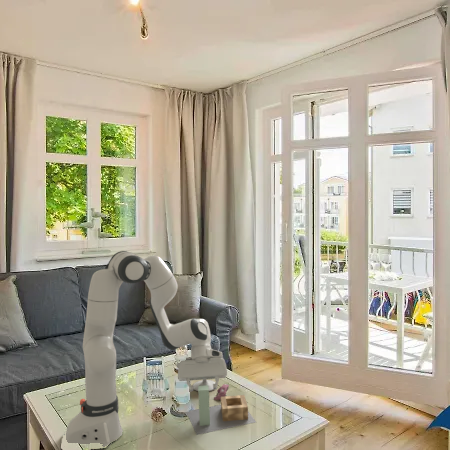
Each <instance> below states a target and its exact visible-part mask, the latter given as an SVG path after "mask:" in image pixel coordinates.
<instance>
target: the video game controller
mask: <svg viewBox="0 0 450 450" xmlns="http://www.w3.org/2000/svg"><path fill="white" fill-rule="evenodd" d="M229 386H230V385H229V384H227V383H224V384H222V385H221V386H220V387H219V388H217V389H216V390H217V391H216V393H217V395H215V396H214V397H213V400H215V401H221V397H225V396H228V394H227V392H228V390H229Z"/></svg>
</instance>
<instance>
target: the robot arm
mask: <svg viewBox="0 0 450 450" xmlns="http://www.w3.org/2000/svg"><path fill="white" fill-rule="evenodd" d="M140 282H144V283H145V284H146V286H147V288H148V290H149V292H150V298H149V299H148V301H149V307H150V311H151V314H152V316H153V318H154V320H155V323H156V325H157V326H156V327H157V328H158V330H159V334H160V338H161V342H162V344H163V346H164V347H165V348H167V349H168V350H171V351H175V350H178V349H179V348H182V347H184V346H188V345H191V347H190V356H189V357H185V358H186V360H185V361H181V362H180V363H178V362H177V361H176V367H177V379H178V381H179V382H186V384H187V386H188V387H189V392H194V389H193V384H191V381H201V380H204V379H206V380H213V379H214V380H215V381H214V382H216V383H215V384H213V389H214V390H218V386H217V385H218V383H219V381H220V379H226V377H227V376H228V368H227V364H226V360H225V359H224V357H223V352H222V351H219V350H216V349H213V348H212V345H211V341H212V337H211V336H212V335H211V329H210V326H209V323H208V321H207V319H204V318H189V319H186V320H183V321H181V322H178V323H175V324H173V323H170V321H169V318H168V315H167V312H166V310H165V307H166V306H167V305H168V304H169V303H170V302H171V301H172V300H173V299H174V297H175V296H176V294H177V292H178V288H179V285H178V282H177V279H176V277H175V276H174V274H173V272H172V271H171V269H170V268H169V266H168V265H167V263H166V262H165V261H164V259H162V258H161V257H160V256H158V255H149V256H146V257H145V258H142V257H140V256H139V255H137V254H136V253H133V252H132V251H131V252H130V251H127V250H121V251H118V252H116V253H114V254H112V256H111V258H110V260H109V261H108V263H107V264H106V265H105V268H104V269H99V270H97V271H95V272H93V274H92V276H91V278H90V282H89V288H88V294H87V304H86V306H87V308H86V316H85V317H86V319H85V324H84V330H83V338H82V340H83V341H82V351H83V352H82V353H83V356H84V371H85V372H84V374H85V375H84V377H85V379H84V382H85V383H84V384H85V398H81V399H80V400H79V405H80V411H79V412H78V414H76V415H75V416H74V417H73V418H71V420H70V421H69V423H68V425H67V426H66V431H65V432H66V440H67V442H68V443H78V444H90V443H100V444H103V445H102V446H103V447H105V446H107V445H109V444H110V443H111V442H113V441H115V440H116V439H118V438H119V437H120V436H121V437H122V435H123V433H122V432H124V431H123V428H122V424H121V420H120V416H119V410H120V409H119V407H120V406H119V397H118V395H117V381H116V379H117V377H116V375H117V373H116V372H117V350H116V347H115V344H114V332H115V327H116V322H117V319H118V306H119V291H120V288H121V285H122V284H123V283H126V284H128V285H129V284H131V285H132V284H137V283H140ZM121 437H120V438H121ZM120 438H119V439H120ZM119 439H118V440H119ZM116 441H117V440H116ZM116 441H115V442H116ZM113 443H114V442H113ZM111 444H112V443H111ZM111 444H110V445H111ZM110 445H109V446H110Z"/></svg>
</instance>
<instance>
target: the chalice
mask: <svg viewBox="0 0 450 450" xmlns="http://www.w3.org/2000/svg"><path fill="white" fill-rule="evenodd" d="M215 383H216V381H214V380H212V379H204V380H197V381H195V382H194V383H193V384H192V385H193V391H196V392H198V386H204V385H208V387H209V392H212V391H214V390H215V389H213V384H215ZM217 387H218V384H217Z"/></svg>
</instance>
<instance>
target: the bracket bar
mask: <svg viewBox="0 0 450 450" xmlns="http://www.w3.org/2000/svg"><path fill="white" fill-rule="evenodd" d="M197 392H198V409H199V421H200V426H203V425H210V409H209V407H210V391H209V387H208V385H204V386H198V391H197Z"/></svg>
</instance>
